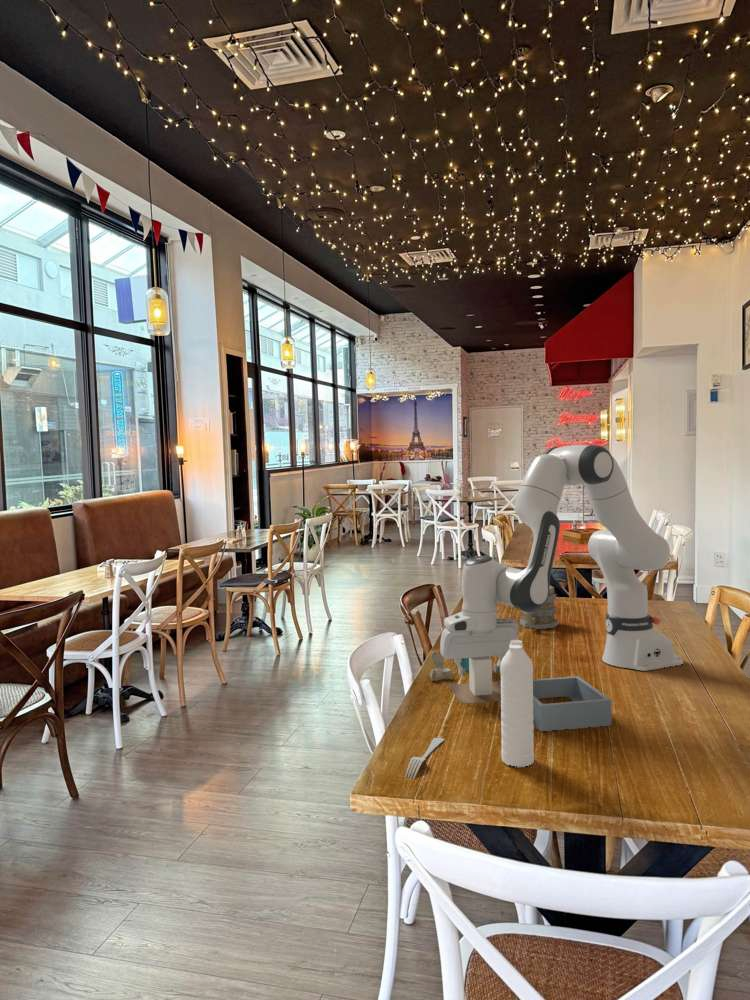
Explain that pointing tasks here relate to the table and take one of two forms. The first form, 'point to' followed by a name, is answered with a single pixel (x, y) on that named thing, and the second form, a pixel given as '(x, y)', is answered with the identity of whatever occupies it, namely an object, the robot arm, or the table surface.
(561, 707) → the slate bin
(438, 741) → the fork
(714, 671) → the table surface
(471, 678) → the ivory rectangular pillar
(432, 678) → the bone
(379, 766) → the table surface
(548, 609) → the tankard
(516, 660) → the water bottle
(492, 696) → the walnut base
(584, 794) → the table surface
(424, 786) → the table surface
